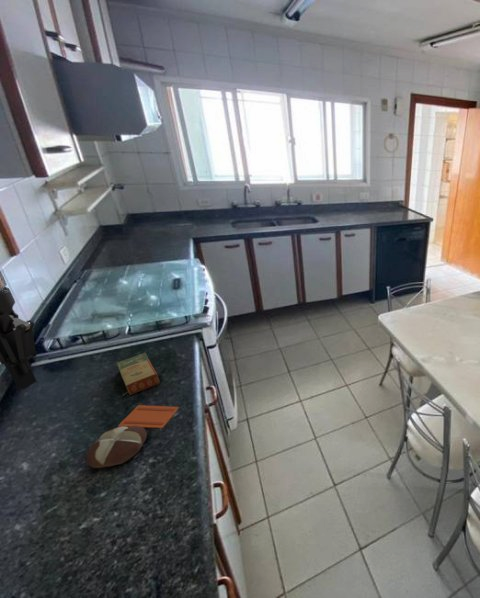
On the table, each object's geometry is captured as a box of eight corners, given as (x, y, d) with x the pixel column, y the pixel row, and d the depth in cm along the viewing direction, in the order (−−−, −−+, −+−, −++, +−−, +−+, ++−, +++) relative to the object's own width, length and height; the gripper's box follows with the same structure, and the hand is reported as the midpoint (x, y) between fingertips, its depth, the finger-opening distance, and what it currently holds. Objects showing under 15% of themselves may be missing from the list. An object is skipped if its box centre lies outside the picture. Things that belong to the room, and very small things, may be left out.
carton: (129, 396, 100) (124, 385, 99) (119, 372, 110) (114, 361, 108) (161, 383, 106) (157, 372, 104) (148, 361, 116) (145, 351, 114)
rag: (118, 427, 90) (117, 425, 90) (138, 406, 97) (138, 404, 97) (162, 428, 91) (162, 427, 90) (180, 407, 98) (179, 406, 98)
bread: (79, 469, 78) (70, 455, 76) (117, 431, 88) (110, 418, 86) (125, 471, 78) (118, 457, 76) (158, 433, 88) (152, 419, 86)
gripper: (33, 286, 69) (71, 375, 79) (-32, 282, 69) (14, 373, 79) (-7, 301, 63) (41, 397, 72) (-79, 297, 62) (-21, 394, 72)
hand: (27, 384), depth 76 cm, fingers closed
